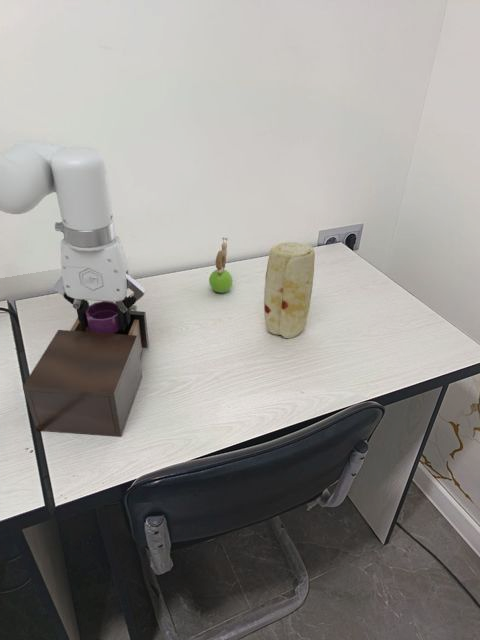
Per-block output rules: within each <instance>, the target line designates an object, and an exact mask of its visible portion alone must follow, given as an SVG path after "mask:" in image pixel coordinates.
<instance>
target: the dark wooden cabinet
mask: <svg viewBox="0 0 480 640" xmlns="http://www.w3.org/2000/svg"><path fill="white" fill-rule="evenodd" d="M137 339H138V338H137V335H123V334H109V333H96V332H82V331H70V330H68V329H67V330H66V329H65V330H64V329H58V330H57V331H56V333H55V335H54V336H53V337H52V339H51V341H50V342H49V344H48V345H47V347H46V349H45V350H44V352H43V353H42V355H41V357H40V358H39V360H38V361H37V363H36V365H35V366H34V368H33V369H32V371H31V373H30V375H29V376H28V378H27V379H26V380H25V382H24V384H23V385H22V389H23V392H24V395H25V399H26V401H27V405H28V408H29V411H30V414H31V417H32V420H33V423H34V426H35V430H36V431H37V432H48V433H49V432H50V433H63V434H74V435H75V434H77V435H91V436H106V437H118V438H119V437H120V438H122V436H123V433H124V430H125V427H126V425H127V422H128V419H129V416H130V413H131V410H132V408H133V405H134V401H135V398H136V396H137V393H138V390H139V387H140V384H141V382H142V378H143V373H142V364H141V355H140V356H139V347H138V340H137Z"/></svg>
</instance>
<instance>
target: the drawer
mask: <svg viewBox="0 0 480 640" xmlns="http://www.w3.org/2000/svg"><path fill="white" fill-rule="evenodd" d="M129 312H130V323H129V325H127V326H126V328H125V330H124V331H121V330H119V331H117V332H116V333H114V334H123V335H137V338H138V339H137V340H138V347H139V356H140V357H141V355H142V353H143V349H148V348H149V345H150V343H149V333H148V323H147V322H148V321H147V314H146V311H141V310H138V305H137V304H133V305H132V306H131V307H130V308H129ZM69 331H82V332H90V331H89V328H88V327H87V328H82V325H81V321H79V319H78V317H77V319H76V320H75V321H74V323H73V325H72V326H71V328H70V330H69Z"/></svg>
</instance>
